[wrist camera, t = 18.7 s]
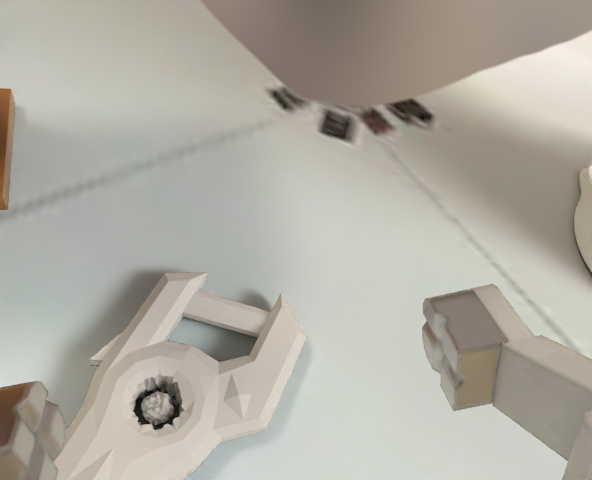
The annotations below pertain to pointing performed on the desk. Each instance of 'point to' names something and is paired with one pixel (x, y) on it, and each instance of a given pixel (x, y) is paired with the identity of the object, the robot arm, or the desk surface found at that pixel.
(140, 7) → the desk surface
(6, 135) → the stand
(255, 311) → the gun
